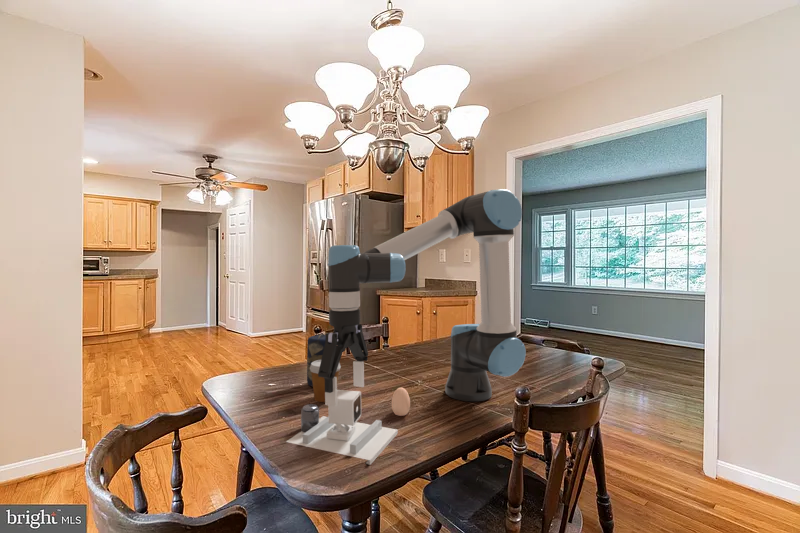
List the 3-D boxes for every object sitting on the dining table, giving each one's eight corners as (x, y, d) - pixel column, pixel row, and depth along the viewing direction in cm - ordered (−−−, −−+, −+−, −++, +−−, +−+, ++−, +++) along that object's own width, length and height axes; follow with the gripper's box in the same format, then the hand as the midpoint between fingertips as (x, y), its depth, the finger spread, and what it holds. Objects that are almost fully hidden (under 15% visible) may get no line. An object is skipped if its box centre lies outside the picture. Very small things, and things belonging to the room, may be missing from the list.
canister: (301, 386, 131) (301, 335, 131) (317, 379, 140) (317, 330, 139) (324, 390, 127) (325, 337, 127) (339, 382, 136) (340, 332, 136)
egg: (408, 412, 109) (408, 384, 109) (411, 420, 104) (412, 390, 104) (390, 413, 109) (390, 385, 109) (392, 421, 103) (393, 391, 103)
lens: (322, 426, 97) (322, 404, 97) (312, 433, 93) (312, 411, 93) (307, 424, 99) (307, 402, 99) (297, 431, 95) (297, 408, 95)
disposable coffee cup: (325, 409, 111) (326, 368, 111) (302, 402, 116) (303, 364, 116) (346, 399, 119) (347, 361, 119) (324, 393, 124) (324, 357, 124)
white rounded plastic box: (353, 442, 89) (352, 400, 88) (325, 439, 90) (324, 398, 90) (362, 429, 95) (361, 390, 94) (335, 426, 96) (335, 388, 96)
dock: (397, 433, 96) (397, 421, 96) (370, 464, 81) (370, 451, 81) (323, 419, 104) (323, 408, 104) (285, 445, 89) (285, 433, 89)
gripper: (355, 302, 105) (356, 378, 106) (300, 315, 82) (302, 412, 82) (379, 303, 102) (380, 380, 103) (330, 317, 79) (332, 417, 80)
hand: (346, 395), depth 93 cm, fingers open, 13 cm apart
